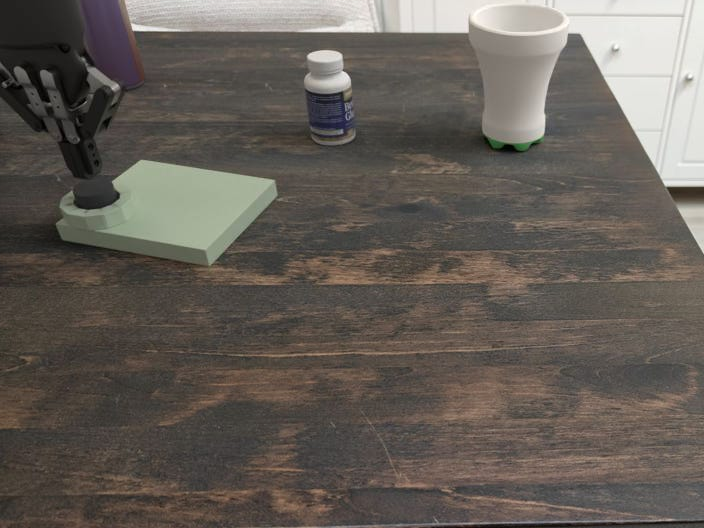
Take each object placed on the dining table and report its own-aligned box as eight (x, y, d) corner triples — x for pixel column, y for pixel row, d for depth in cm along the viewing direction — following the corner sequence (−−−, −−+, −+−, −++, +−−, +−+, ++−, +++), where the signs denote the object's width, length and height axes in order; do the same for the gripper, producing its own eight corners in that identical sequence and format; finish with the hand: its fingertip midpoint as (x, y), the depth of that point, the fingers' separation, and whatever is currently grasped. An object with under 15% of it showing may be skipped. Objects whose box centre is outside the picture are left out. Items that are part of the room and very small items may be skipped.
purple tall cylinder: (127, 94, 99) (90, -29, 89) (90, 88, 100) (50, -34, 90) (155, 79, 103) (123, -41, 93) (120, 73, 105) (84, -46, 95)
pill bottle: (357, 145, 89) (349, 63, 82) (311, 148, 88) (299, 65, 82) (355, 126, 93) (347, 46, 86) (311, 129, 92) (300, 48, 86)
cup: (477, 115, 96) (479, -2, 87) (563, 124, 94) (574, 6, 85) (458, 154, 88) (458, 29, 78) (551, 164, 86) (562, 38, 77)
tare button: (69, 208, 71) (63, 193, 70) (93, 190, 74) (88, 175, 72) (102, 213, 70) (97, 198, 69) (125, 195, 73) (120, 181, 72)
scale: (58, 241, 72) (44, 209, 70) (144, 174, 83) (134, 145, 80) (208, 268, 69) (199, 236, 67) (277, 196, 80) (272, 165, 77)
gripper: (-93, -21, 57) (0, 184, 68) (55, -5, 55) (126, 204, 66) (-20, -44, 62) (55, 149, 74) (118, -31, 60) (173, 167, 72)
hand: (88, 175), depth 70 cm, fingers closed
